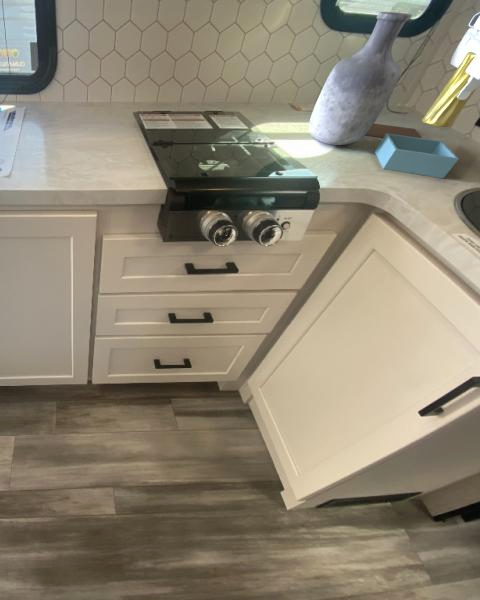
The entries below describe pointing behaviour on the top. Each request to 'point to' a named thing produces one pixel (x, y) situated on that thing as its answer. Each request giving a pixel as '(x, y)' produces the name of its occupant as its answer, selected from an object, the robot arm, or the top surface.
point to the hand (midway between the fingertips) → (455, 95)
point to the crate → (415, 155)
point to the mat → (391, 131)
